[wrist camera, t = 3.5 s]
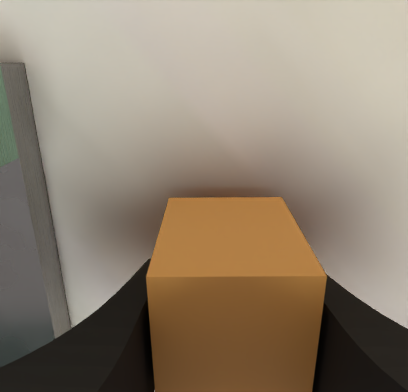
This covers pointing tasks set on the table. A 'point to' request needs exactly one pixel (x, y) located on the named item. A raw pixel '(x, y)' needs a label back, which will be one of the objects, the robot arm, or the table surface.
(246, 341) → the orange cube
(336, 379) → the robot arm
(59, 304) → the base
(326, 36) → the table surface
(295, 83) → the table surface
